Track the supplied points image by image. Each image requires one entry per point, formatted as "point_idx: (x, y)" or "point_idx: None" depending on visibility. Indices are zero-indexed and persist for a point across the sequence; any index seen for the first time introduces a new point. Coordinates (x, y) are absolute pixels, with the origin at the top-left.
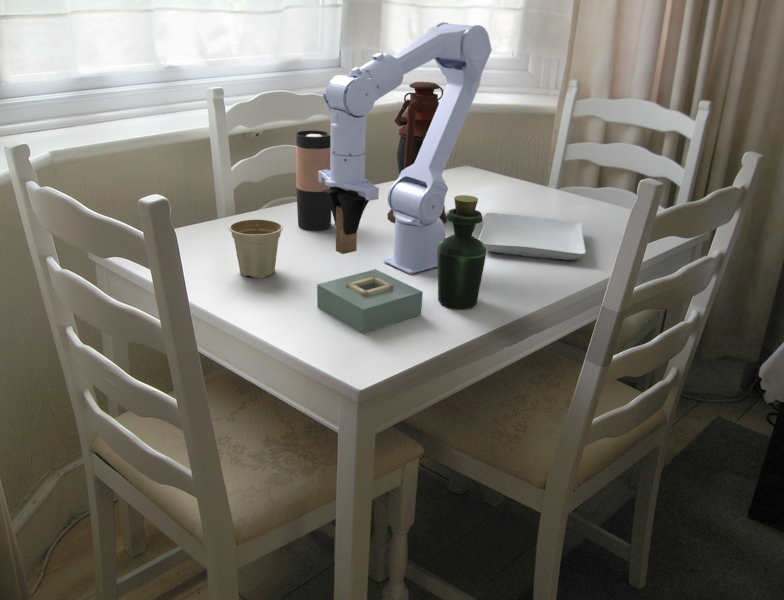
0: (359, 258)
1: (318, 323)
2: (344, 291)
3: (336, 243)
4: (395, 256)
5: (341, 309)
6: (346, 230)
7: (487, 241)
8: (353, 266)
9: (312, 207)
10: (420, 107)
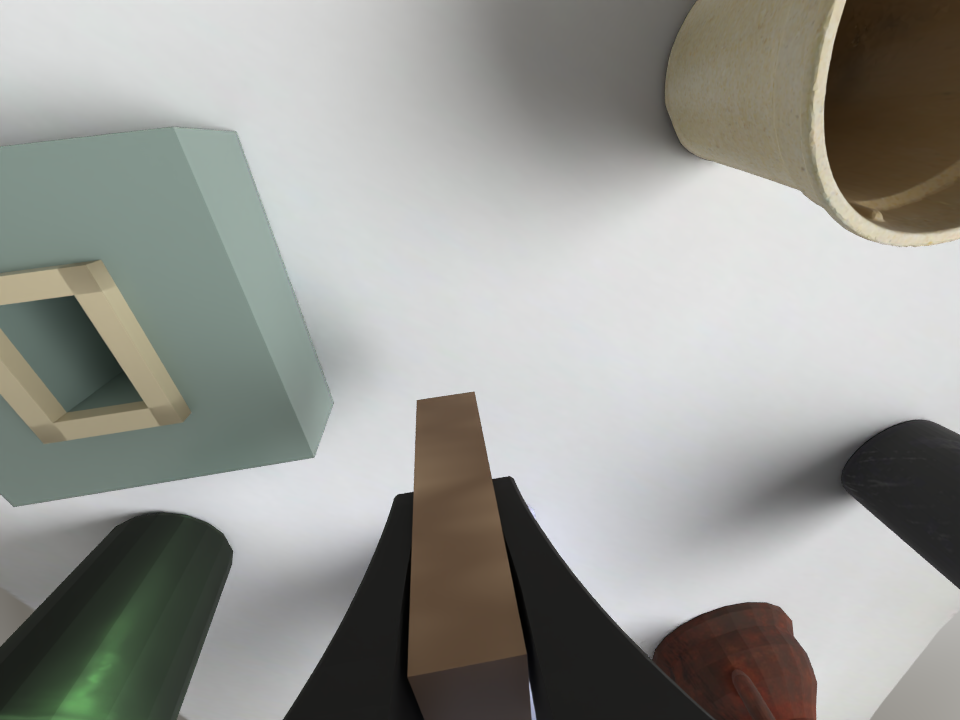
0: (598, 465)
1: (21, 27)
2: (29, 221)
3: (473, 417)
4: None
5: None
6: (391, 514)
7: None
8: (554, 428)
9: (958, 500)
10: None
